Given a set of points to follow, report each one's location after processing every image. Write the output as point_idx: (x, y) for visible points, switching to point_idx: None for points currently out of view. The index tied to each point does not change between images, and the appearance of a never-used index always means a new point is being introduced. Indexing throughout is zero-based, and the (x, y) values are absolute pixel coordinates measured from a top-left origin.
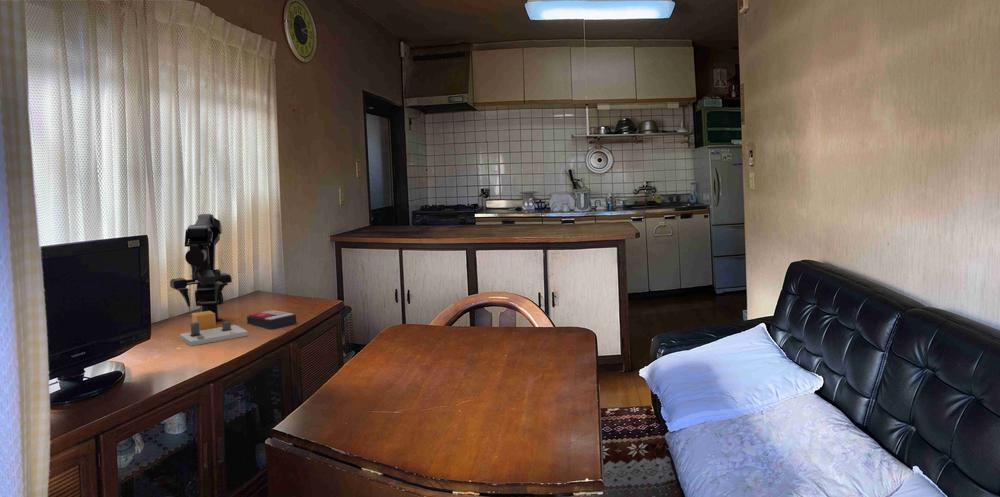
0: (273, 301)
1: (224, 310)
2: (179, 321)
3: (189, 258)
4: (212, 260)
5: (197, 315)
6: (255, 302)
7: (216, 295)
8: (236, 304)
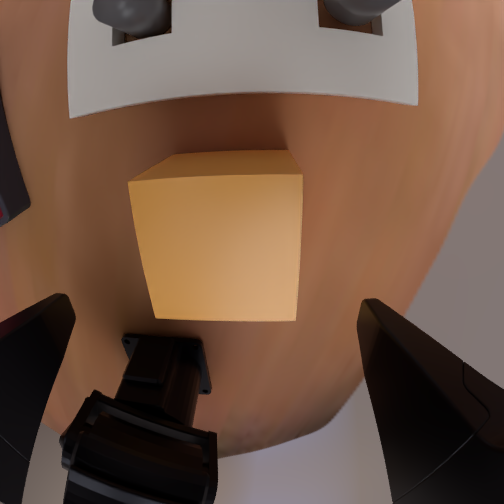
0: None
1: None
2: (278, 407)
3: None
4: None
5: (287, 209)
6: (56, 423)
7: (21, 353)
8: None
